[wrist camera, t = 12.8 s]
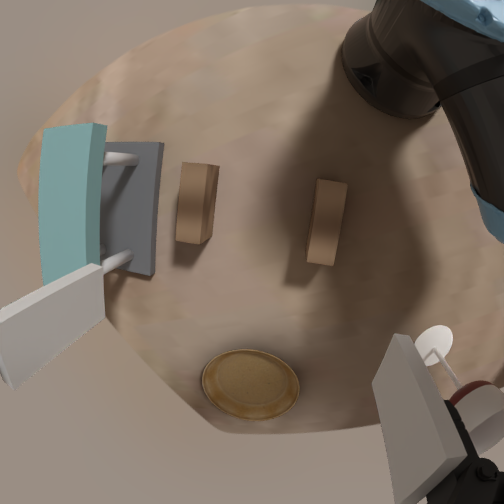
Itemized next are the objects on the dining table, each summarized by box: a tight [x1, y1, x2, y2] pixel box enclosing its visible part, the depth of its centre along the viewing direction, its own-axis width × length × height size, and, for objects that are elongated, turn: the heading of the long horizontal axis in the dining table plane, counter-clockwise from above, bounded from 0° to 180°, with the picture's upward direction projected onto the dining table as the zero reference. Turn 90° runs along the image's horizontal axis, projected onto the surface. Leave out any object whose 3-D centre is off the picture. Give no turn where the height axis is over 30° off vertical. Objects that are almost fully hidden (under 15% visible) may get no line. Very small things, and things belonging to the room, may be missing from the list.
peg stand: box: [100, 142, 164, 276], centre depth 33 cm, size 18×12×10 cm, turn 173°
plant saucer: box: [202, 349, 300, 421], centre depth 41 cm, size 15×15×3 cm
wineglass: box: [414, 325, 504, 455], centre depth 27 cm, size 8×9×20 cm
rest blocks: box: [175, 162, 348, 266], centre depth 33 cm, size 9×18×5 cm, turn 83°
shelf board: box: [39, 123, 107, 286], centre depth 27 cm, size 20×8×2 cm, turn 173°
